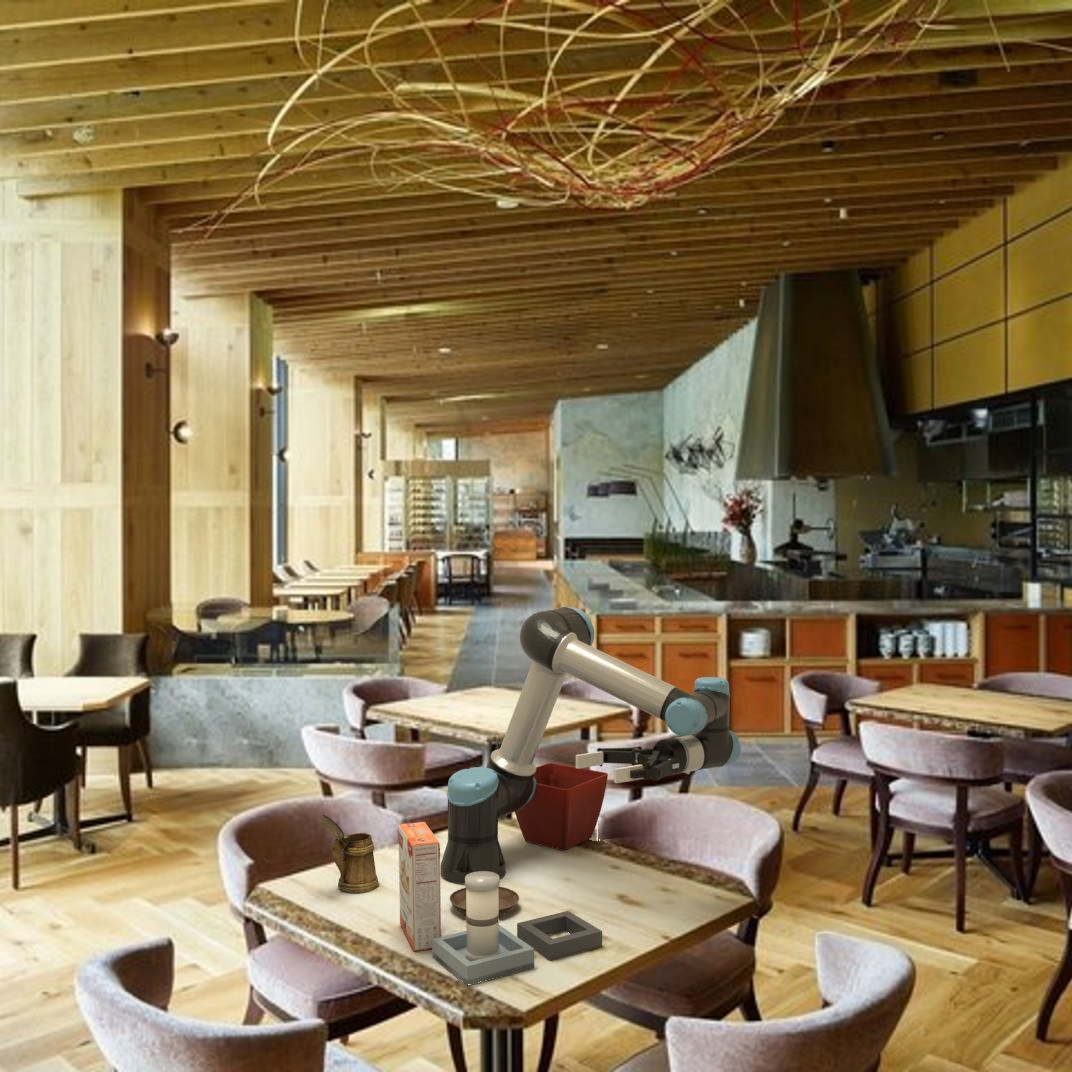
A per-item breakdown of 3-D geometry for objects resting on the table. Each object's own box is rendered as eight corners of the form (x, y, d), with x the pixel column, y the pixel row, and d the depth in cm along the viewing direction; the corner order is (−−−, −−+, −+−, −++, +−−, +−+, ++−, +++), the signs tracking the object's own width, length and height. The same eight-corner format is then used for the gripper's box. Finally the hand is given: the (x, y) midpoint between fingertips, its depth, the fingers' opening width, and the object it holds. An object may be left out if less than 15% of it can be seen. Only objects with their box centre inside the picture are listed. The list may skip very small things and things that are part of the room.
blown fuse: (459, 954, 194) (458, 875, 194) (489, 947, 198) (488, 868, 197) (475, 967, 189) (475, 885, 189) (506, 959, 192) (505, 878, 192)
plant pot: (566, 857, 252) (566, 788, 251) (505, 842, 263) (505, 776, 263) (610, 837, 267) (609, 772, 267) (550, 824, 279) (550, 762, 278)
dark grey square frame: (517, 938, 204) (517, 923, 204) (567, 925, 210) (568, 910, 210) (549, 960, 194) (549, 944, 194) (602, 946, 200) (602, 931, 200)
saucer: (513, 894, 228) (513, 882, 228) (524, 920, 214) (524, 907, 214) (446, 899, 226) (446, 886, 226) (452, 925, 211) (452, 912, 211)
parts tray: (432, 957, 196) (432, 938, 196) (496, 940, 203) (496, 923, 203) (467, 986, 184) (466, 966, 184) (534, 967, 191) (534, 948, 191)
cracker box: (397, 925, 211) (397, 823, 210) (426, 921, 213) (426, 820, 212) (411, 953, 198) (410, 844, 197) (442, 948, 199) (441, 841, 199)
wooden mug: (312, 891, 230) (312, 810, 230) (364, 876, 239) (364, 799, 239) (333, 902, 224) (333, 819, 223) (386, 886, 233) (385, 807, 232)
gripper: (716, 786, 210) (632, 801, 199) (641, 761, 231) (561, 774, 220) (716, 749, 210) (632, 762, 199) (641, 727, 231) (561, 738, 220)
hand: (595, 768), depth 210 cm, fingers open, 13 cm apart
